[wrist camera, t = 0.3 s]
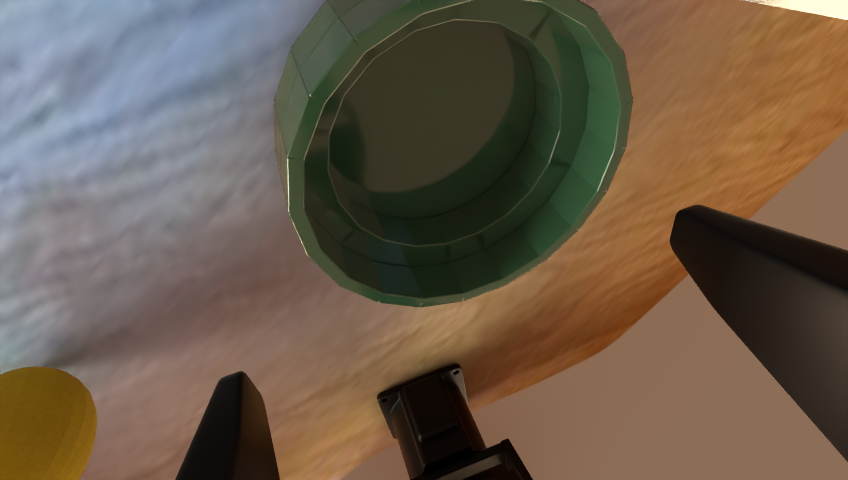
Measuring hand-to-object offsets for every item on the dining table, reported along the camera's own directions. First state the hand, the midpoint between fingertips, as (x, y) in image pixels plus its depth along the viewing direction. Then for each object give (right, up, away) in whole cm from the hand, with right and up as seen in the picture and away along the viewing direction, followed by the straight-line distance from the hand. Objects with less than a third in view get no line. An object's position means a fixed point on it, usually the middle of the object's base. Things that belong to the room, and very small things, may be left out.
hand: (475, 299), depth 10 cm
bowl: (-1, +7, +14) cm, 15 cm away
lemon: (-20, -5, +16) cm, 26 cm away
